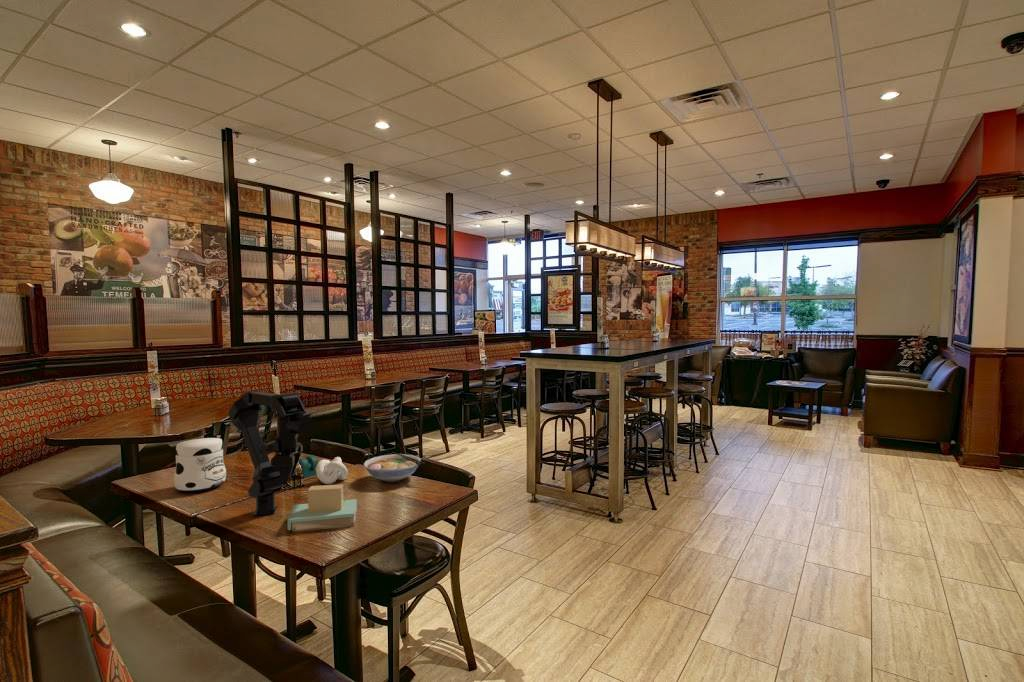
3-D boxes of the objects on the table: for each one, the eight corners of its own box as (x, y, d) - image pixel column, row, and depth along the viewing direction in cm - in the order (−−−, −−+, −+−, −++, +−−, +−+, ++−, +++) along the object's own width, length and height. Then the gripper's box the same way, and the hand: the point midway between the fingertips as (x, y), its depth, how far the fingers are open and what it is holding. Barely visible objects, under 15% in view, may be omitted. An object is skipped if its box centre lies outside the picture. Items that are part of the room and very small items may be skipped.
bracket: (318, 474, 207) (318, 456, 207) (304, 478, 201) (304, 460, 201) (291, 468, 216) (291, 450, 216) (277, 472, 210) (277, 454, 210)
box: (300, 516, 161) (299, 507, 160) (356, 510, 165) (356, 502, 165) (292, 532, 148) (292, 522, 148) (354, 526, 152) (354, 516, 152)
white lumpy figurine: (316, 478, 201) (316, 456, 201) (347, 474, 205) (346, 453, 205) (316, 486, 190) (315, 464, 190) (348, 483, 195) (348, 460, 194)
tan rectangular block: (311, 507, 158) (311, 486, 157) (343, 505, 159) (343, 484, 159) (308, 512, 154) (307, 490, 153) (341, 510, 155) (340, 488, 155)
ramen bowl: (354, 477, 202) (354, 457, 201) (405, 467, 216) (405, 448, 215) (378, 493, 182) (377, 472, 182) (432, 481, 196) (432, 461, 196)
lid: (295, 514, 160) (295, 504, 160) (357, 508, 165) (356, 499, 165) (287, 530, 148) (287, 519, 148) (354, 523, 152) (354, 513, 152)
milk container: (224, 491, 186) (222, 444, 185) (169, 498, 178) (168, 449, 178) (228, 478, 201) (227, 435, 201) (178, 484, 194) (177, 440, 194)
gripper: (267, 427, 164) (268, 473, 165) (251, 440, 146) (252, 491, 147) (302, 425, 167) (303, 470, 167) (291, 437, 149) (292, 488, 149)
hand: (288, 479), depth 157 cm, fingers open, 9 cm apart
